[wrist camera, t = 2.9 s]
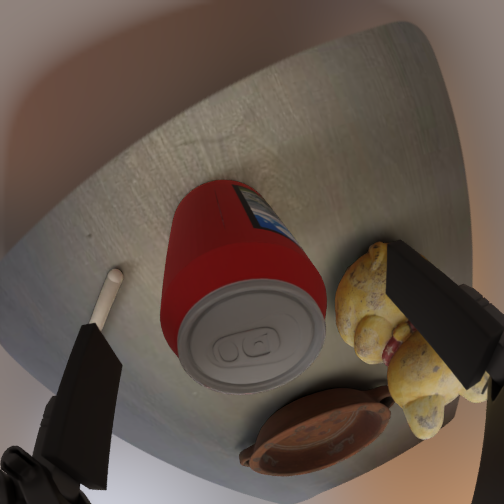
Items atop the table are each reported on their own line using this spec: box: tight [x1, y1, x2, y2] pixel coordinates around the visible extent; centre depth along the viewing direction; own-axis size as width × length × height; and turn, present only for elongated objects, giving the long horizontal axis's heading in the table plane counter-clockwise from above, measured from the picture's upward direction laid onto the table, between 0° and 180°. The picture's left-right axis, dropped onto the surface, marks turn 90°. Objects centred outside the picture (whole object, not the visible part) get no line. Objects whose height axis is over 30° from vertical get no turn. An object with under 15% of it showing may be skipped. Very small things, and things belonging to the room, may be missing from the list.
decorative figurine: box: [335, 242, 490, 440], centre depth 19 cm, size 10×8×15 cm
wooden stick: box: [89, 269, 123, 331], centre depth 22 cm, size 1×13×1 cm, turn 147°
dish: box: [239, 385, 395, 476], centre depth 32 cm, size 18×22×5 cm
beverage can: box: [160, 180, 327, 395], centre depth 16 cm, size 7×7×12 cm
